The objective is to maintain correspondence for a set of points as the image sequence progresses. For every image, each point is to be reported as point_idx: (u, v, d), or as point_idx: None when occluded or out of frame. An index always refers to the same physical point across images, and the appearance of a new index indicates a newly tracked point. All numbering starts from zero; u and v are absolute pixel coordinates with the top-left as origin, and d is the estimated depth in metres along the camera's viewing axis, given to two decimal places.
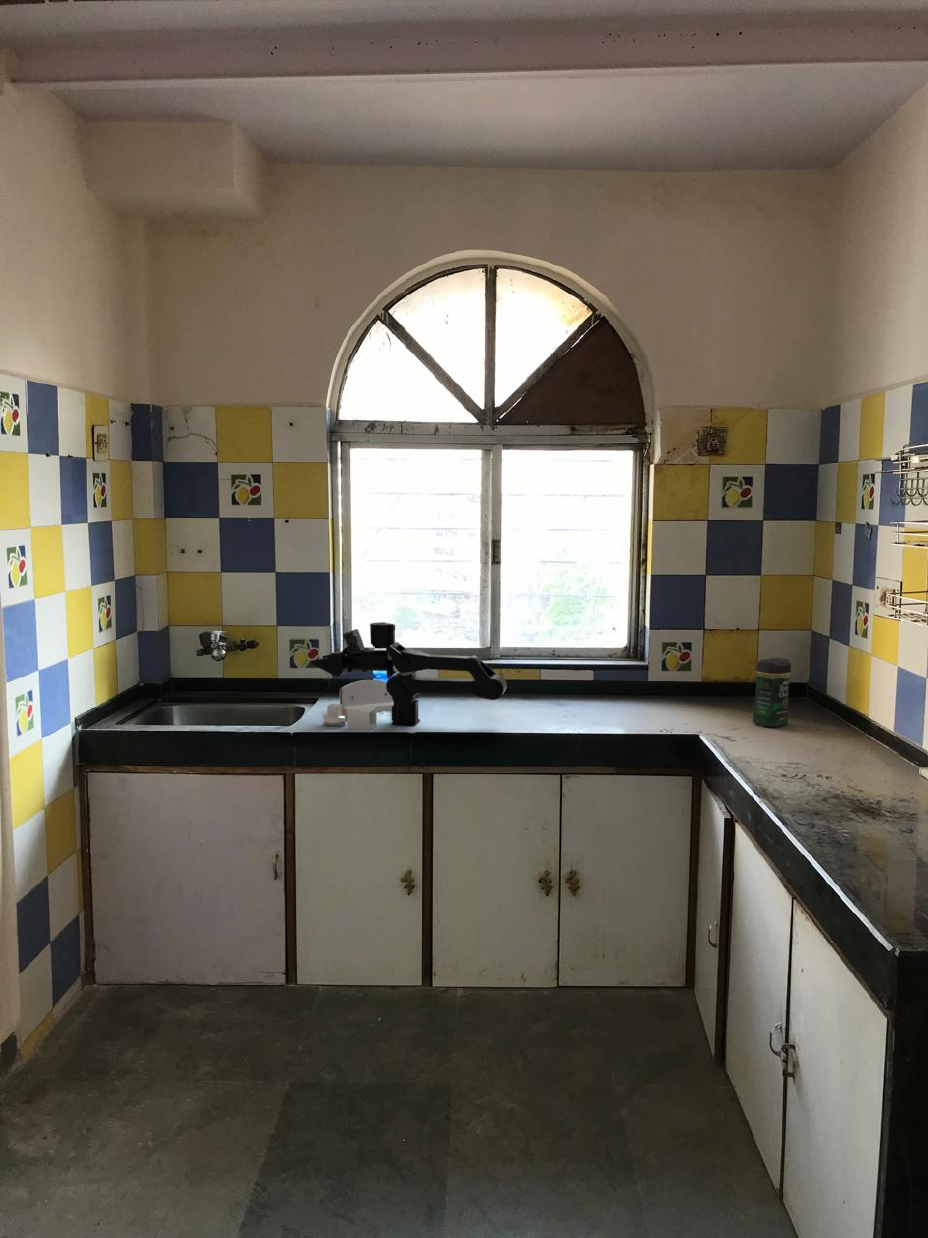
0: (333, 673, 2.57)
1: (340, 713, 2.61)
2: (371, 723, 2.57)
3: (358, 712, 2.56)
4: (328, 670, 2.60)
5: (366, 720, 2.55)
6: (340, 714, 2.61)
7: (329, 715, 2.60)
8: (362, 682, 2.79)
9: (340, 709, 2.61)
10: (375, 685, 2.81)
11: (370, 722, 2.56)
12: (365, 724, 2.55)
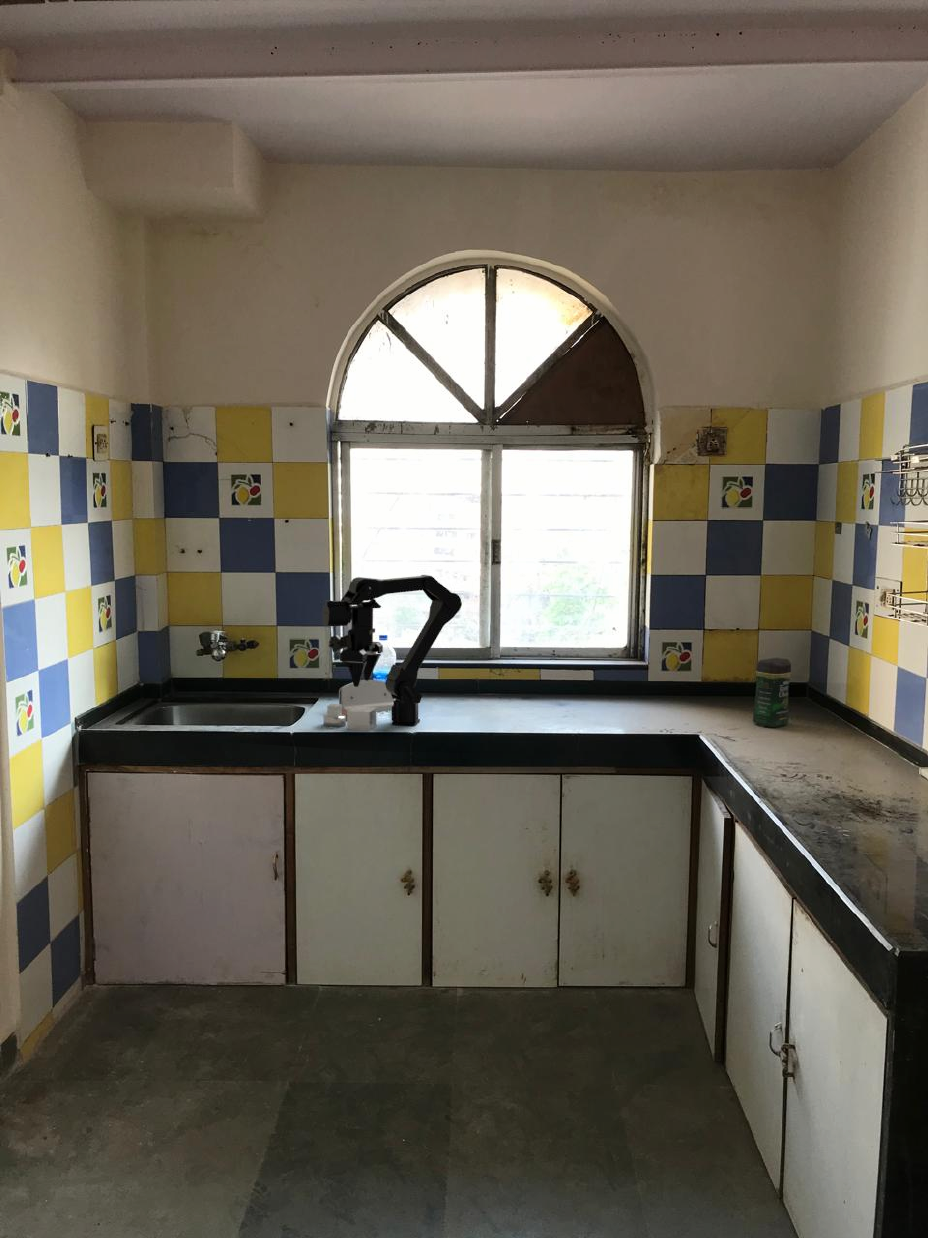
0: (358, 660, 2.47)
1: (340, 713, 2.61)
2: (371, 723, 2.57)
3: (358, 712, 2.56)
4: (361, 667, 2.50)
5: (366, 720, 2.55)
6: (340, 714, 2.61)
7: (329, 715, 2.60)
8: (361, 682, 2.79)
9: (340, 709, 2.61)
10: (374, 685, 2.81)
11: (370, 722, 2.56)
12: (365, 724, 2.55)
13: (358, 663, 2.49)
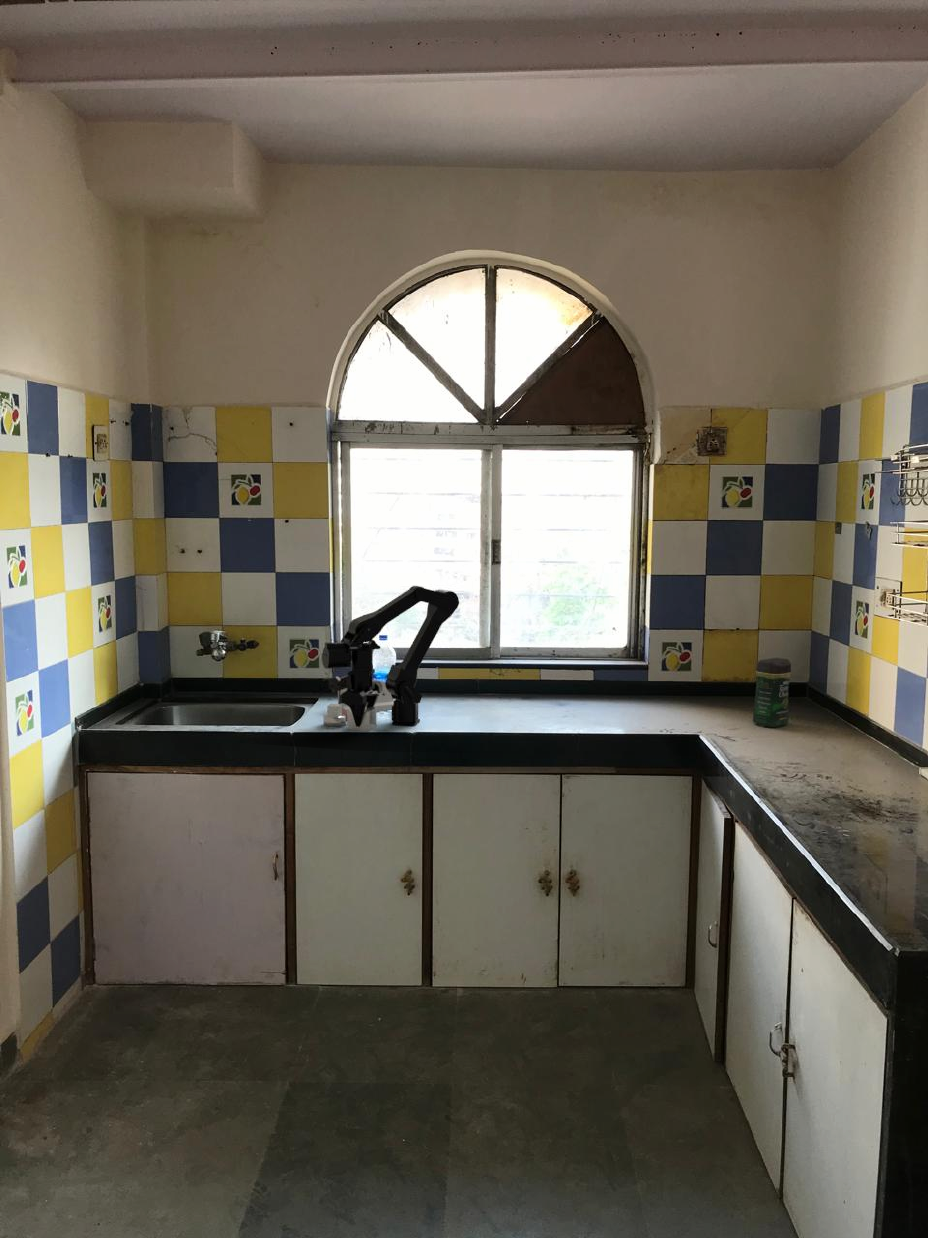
0: (359, 702, 2.48)
1: (340, 713, 2.61)
2: (371, 723, 2.57)
3: None
4: (362, 708, 2.53)
5: (366, 720, 2.55)
6: (340, 714, 2.61)
7: (329, 715, 2.60)
8: None
9: (340, 709, 2.61)
10: None
11: (370, 722, 2.56)
12: (365, 724, 2.55)
13: (360, 704, 2.51)
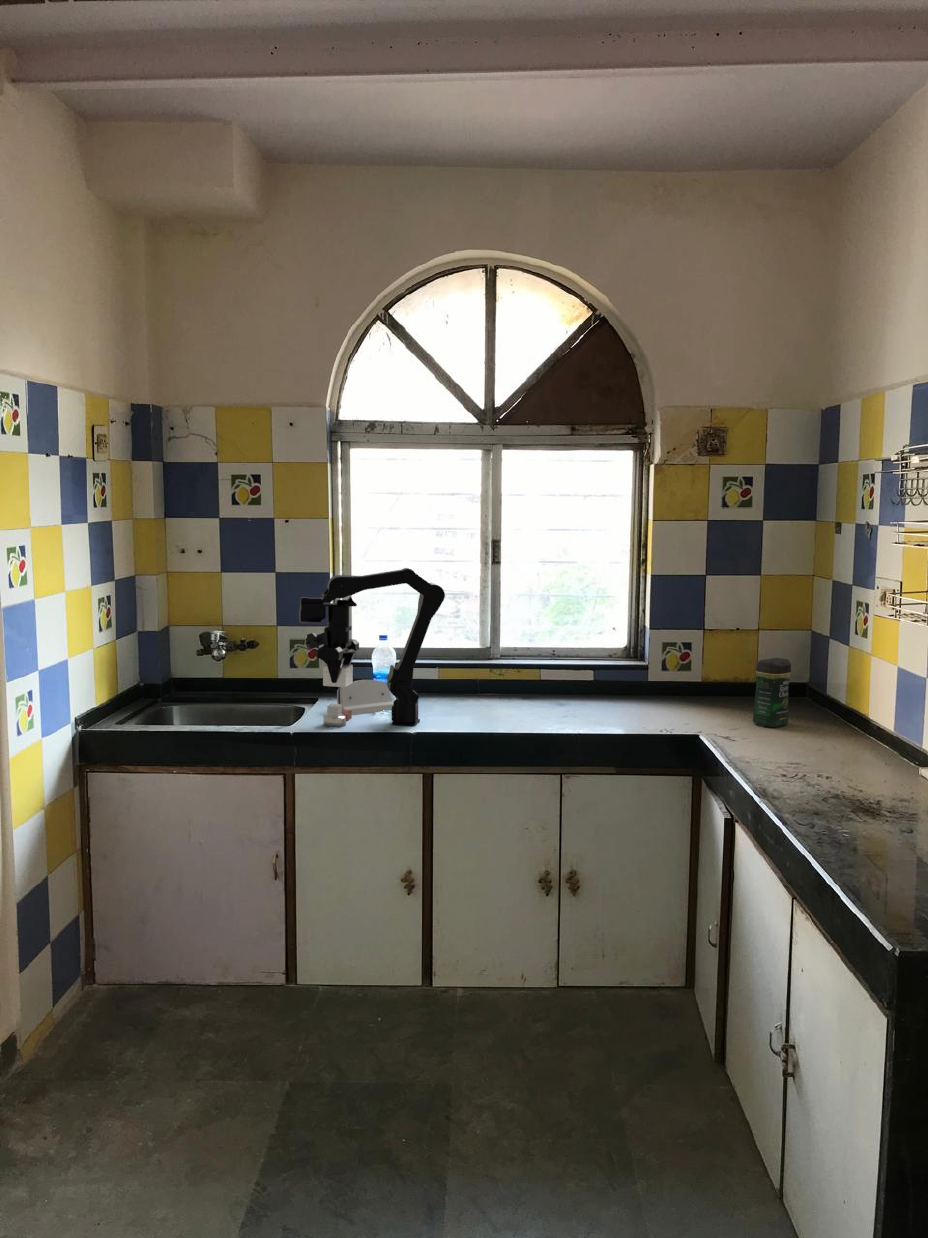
0: (335, 657, 2.49)
1: (340, 713, 2.61)
2: (347, 679, 2.57)
3: None
4: (338, 664, 2.54)
5: (342, 676, 2.56)
6: (340, 714, 2.61)
7: (329, 715, 2.60)
8: (359, 682, 2.79)
9: (340, 709, 2.61)
10: (372, 685, 2.81)
11: (346, 679, 2.57)
12: (341, 680, 2.56)
13: (336, 659, 2.52)
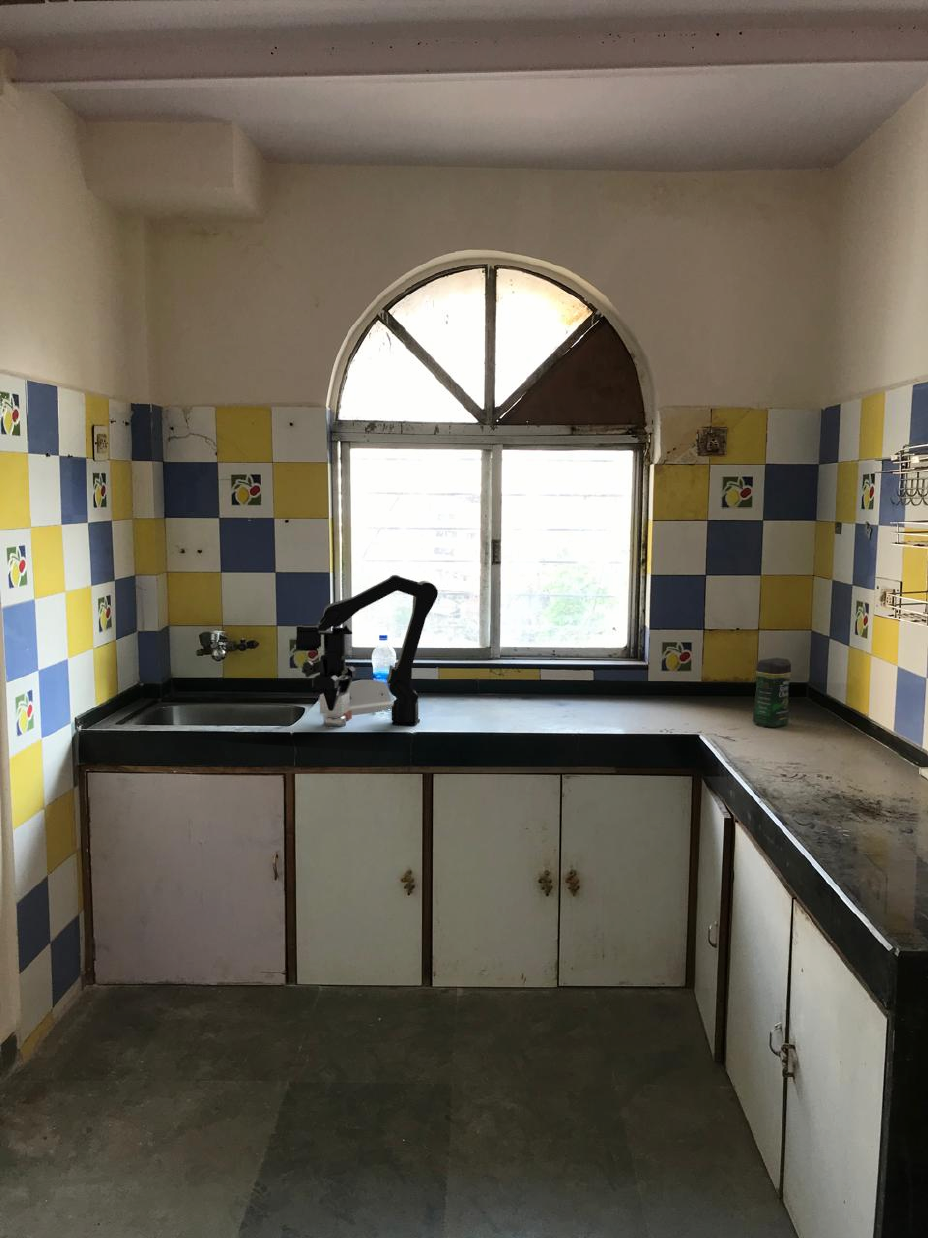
0: (330, 686, 2.51)
1: None
2: (343, 707, 2.59)
3: None
4: (335, 692, 2.55)
5: (338, 704, 2.58)
6: None
7: (329, 715, 2.60)
8: (359, 682, 2.79)
9: None
10: (371, 685, 2.81)
11: (343, 706, 2.58)
12: (337, 708, 2.58)
13: (332, 688, 2.53)
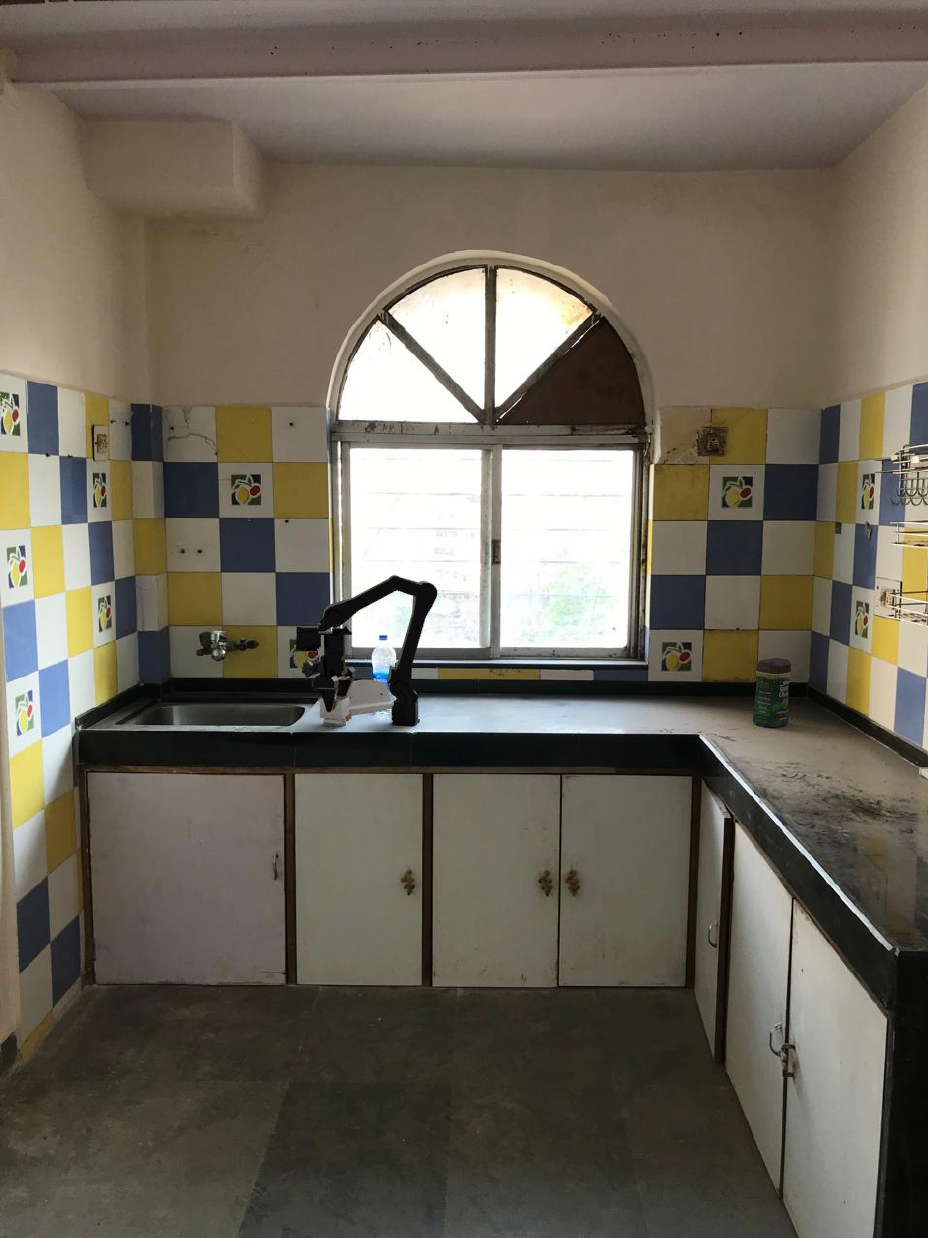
0: (330, 687, 2.51)
1: None
2: (343, 711, 2.59)
3: None
4: (333, 693, 2.54)
5: (338, 708, 2.58)
6: None
7: None
8: (358, 682, 2.79)
9: None
10: (371, 685, 2.81)
11: (342, 711, 2.58)
12: (337, 712, 2.58)
13: (330, 689, 2.52)
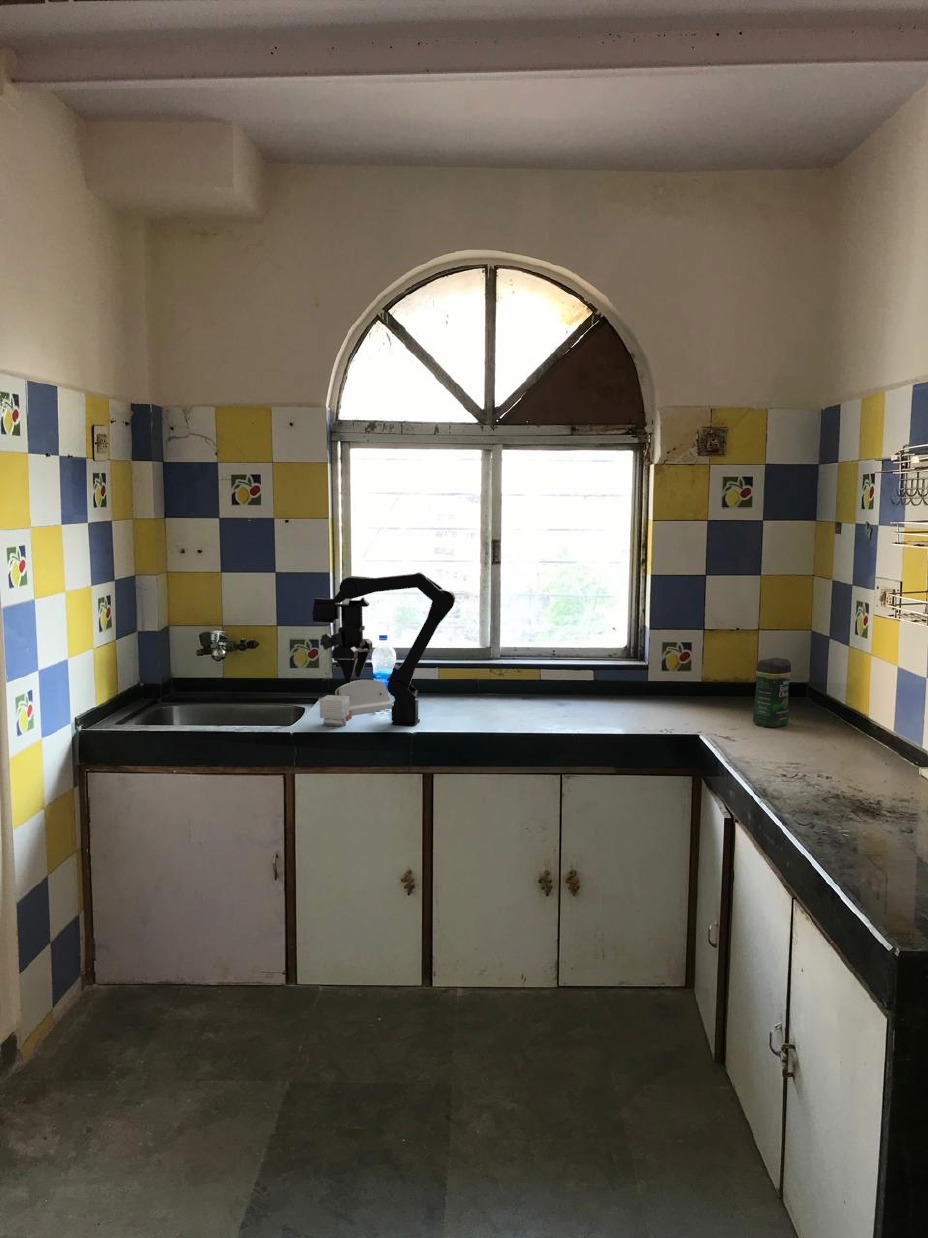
0: (350, 657, 2.53)
1: None
2: (343, 711, 2.59)
3: (331, 700, 2.58)
4: (352, 664, 2.56)
5: (338, 708, 2.58)
6: None
7: None
8: (358, 682, 2.79)
9: None
10: (370, 685, 2.81)
11: (343, 711, 2.58)
12: (338, 712, 2.58)
13: (350, 660, 2.55)
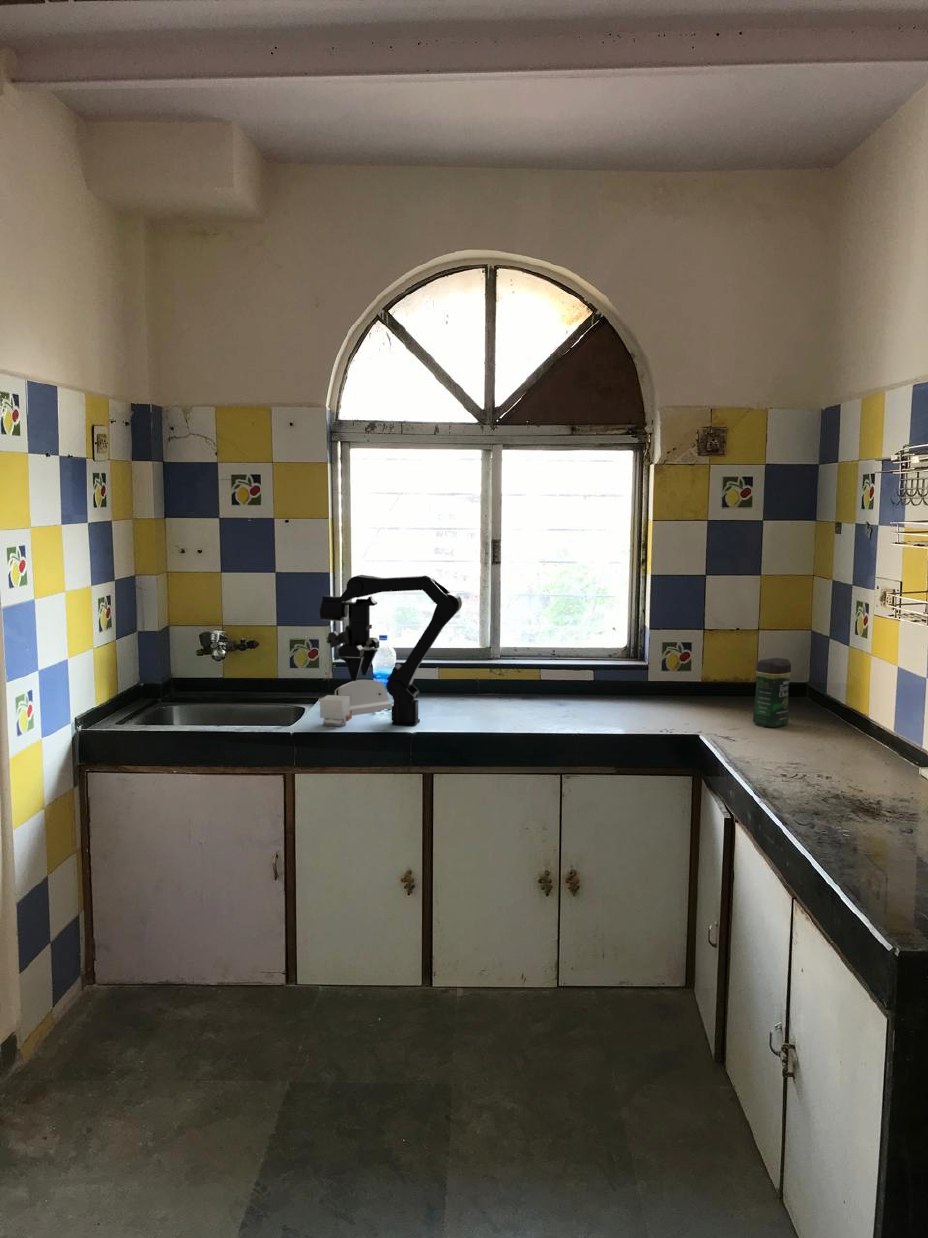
0: (356, 655, 2.55)
1: None
2: (343, 711, 2.59)
3: (331, 700, 2.58)
4: (358, 662, 2.58)
5: (338, 708, 2.58)
6: None
7: None
8: (357, 682, 2.79)
9: None
10: (369, 685, 2.81)
11: (343, 711, 2.58)
12: (338, 712, 2.58)
13: (355, 658, 2.56)
